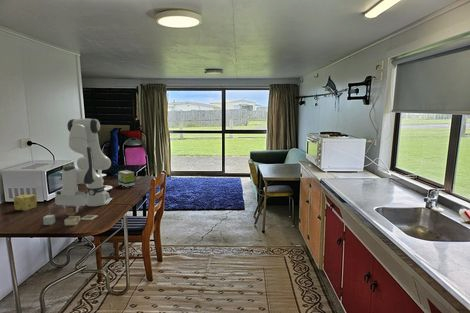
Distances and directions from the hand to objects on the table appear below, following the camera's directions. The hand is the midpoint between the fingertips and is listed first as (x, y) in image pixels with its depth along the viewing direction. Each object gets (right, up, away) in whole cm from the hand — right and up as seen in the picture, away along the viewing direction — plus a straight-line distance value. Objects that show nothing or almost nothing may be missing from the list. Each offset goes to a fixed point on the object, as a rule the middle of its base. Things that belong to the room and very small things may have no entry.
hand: (71, 211), depth 194 cm
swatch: (+6, -7, +12) cm, 15 cm away
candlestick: (-21, +3, +83) cm, 85 cm away
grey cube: (-15, -8, +1) cm, 17 cm away
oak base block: (0, -8, +1) cm, 8 cm away
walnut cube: (0, -2, 0) cm, 2 cm away
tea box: (-2, +6, +105) cm, 105 cm away
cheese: (-53, -4, +31) cm, 61 cm away
